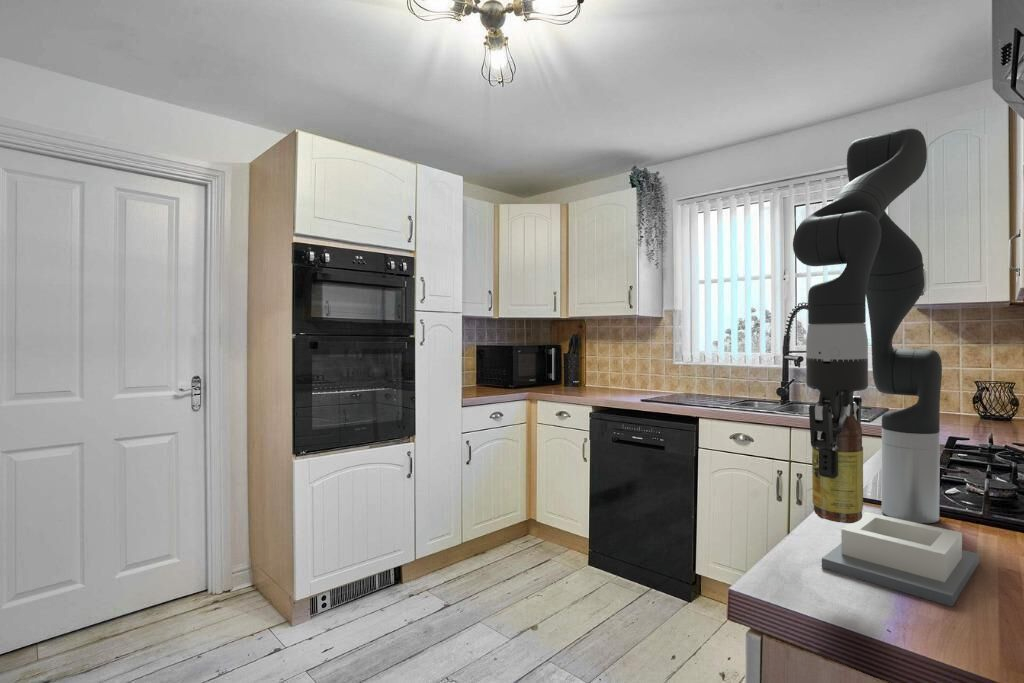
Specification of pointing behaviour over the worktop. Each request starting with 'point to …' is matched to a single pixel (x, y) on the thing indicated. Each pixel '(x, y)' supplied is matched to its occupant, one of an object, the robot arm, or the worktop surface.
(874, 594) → the worktop surface
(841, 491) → the sauce bottle
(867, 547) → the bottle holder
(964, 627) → the worktop surface
